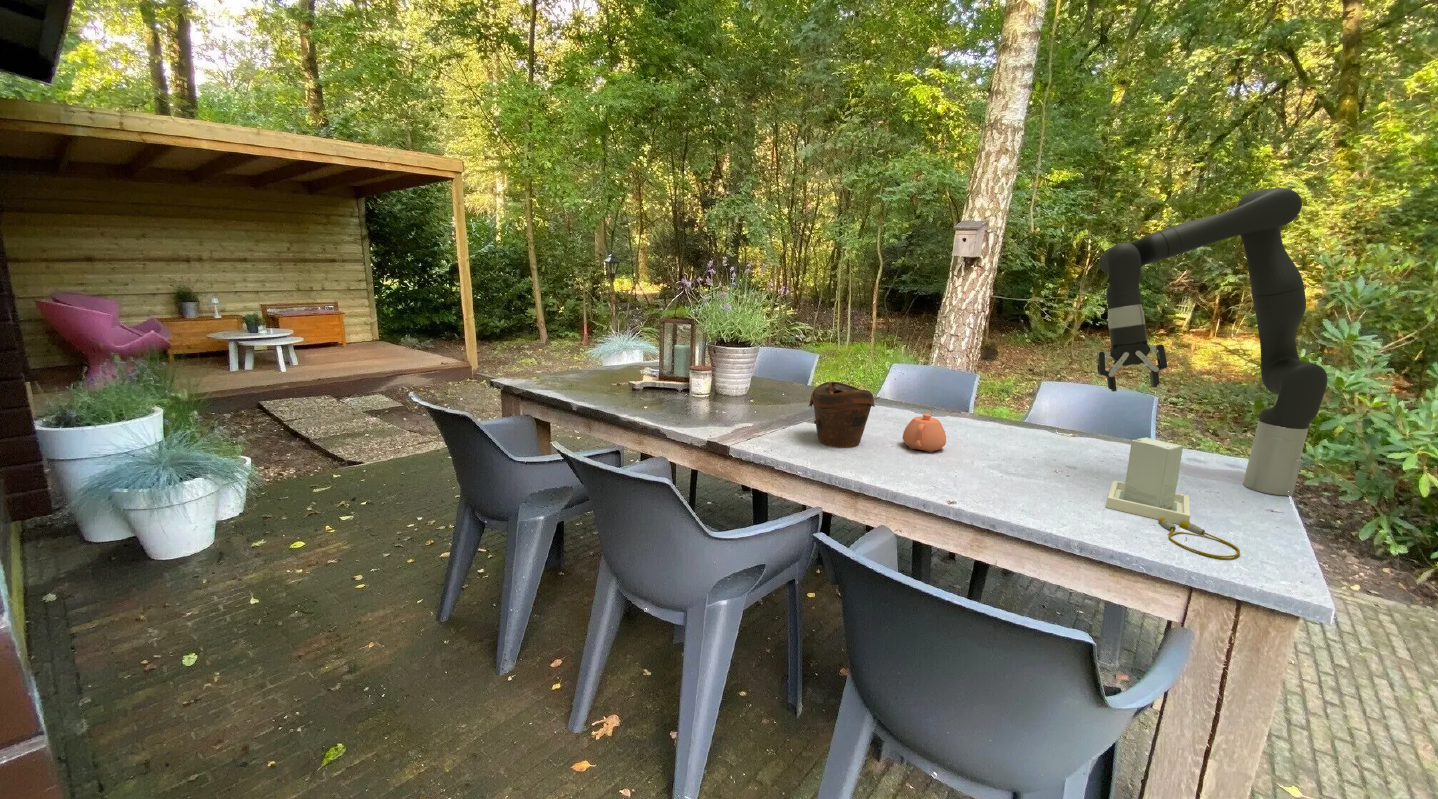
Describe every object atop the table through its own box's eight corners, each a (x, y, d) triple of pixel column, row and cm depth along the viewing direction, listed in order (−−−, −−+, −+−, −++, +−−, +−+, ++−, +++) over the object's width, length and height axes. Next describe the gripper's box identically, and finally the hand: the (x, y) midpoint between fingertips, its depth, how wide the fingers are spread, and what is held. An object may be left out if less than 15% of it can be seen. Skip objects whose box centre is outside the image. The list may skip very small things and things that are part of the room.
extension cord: (1226, 536, 126) (1228, 527, 125) (1247, 568, 112) (1250, 558, 112) (1156, 522, 131) (1157, 513, 131) (1168, 551, 118) (1170, 542, 117)
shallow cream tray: (1186, 505, 140) (1189, 495, 140) (1187, 526, 129) (1190, 515, 128) (1111, 489, 149) (1113, 480, 148) (1105, 507, 137) (1107, 497, 137)
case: (821, 428, 194) (825, 374, 189) (880, 441, 183) (886, 383, 178) (794, 441, 180) (798, 383, 175) (856, 456, 169) (862, 394, 164)
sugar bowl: (949, 446, 180) (953, 413, 177) (938, 458, 168) (942, 423, 166) (908, 439, 186) (911, 407, 184) (894, 450, 174) (898, 416, 172)
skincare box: (1173, 508, 136) (1187, 446, 133) (1156, 512, 134) (1170, 448, 130) (1135, 495, 144) (1147, 435, 140) (1119, 498, 141) (1131, 438, 138)
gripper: (1097, 329, 149) (1104, 393, 149) (1165, 319, 143) (1173, 386, 144) (1090, 330, 156) (1097, 391, 156) (1155, 321, 150) (1162, 385, 151)
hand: (1134, 389), depth 150 cm, fingers open, 8 cm apart
